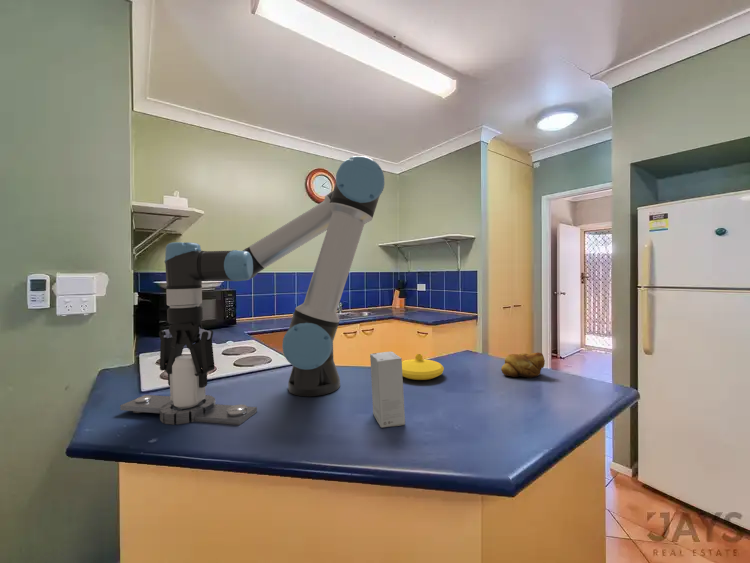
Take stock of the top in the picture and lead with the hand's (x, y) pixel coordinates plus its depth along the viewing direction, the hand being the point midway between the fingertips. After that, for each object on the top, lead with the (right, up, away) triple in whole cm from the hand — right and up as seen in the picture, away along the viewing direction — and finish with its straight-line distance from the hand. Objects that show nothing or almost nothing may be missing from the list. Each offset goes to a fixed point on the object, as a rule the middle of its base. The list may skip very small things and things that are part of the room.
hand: (188, 399), depth 80 cm
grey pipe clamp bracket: (0, -4, 0) cm, 4 cm away
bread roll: (+93, -1, +24) cm, 96 cm away
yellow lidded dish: (+61, -2, +25) cm, 66 cm away
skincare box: (+49, -3, -5) cm, 49 cm away
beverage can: (0, -2, 0) cm, 2 cm away
